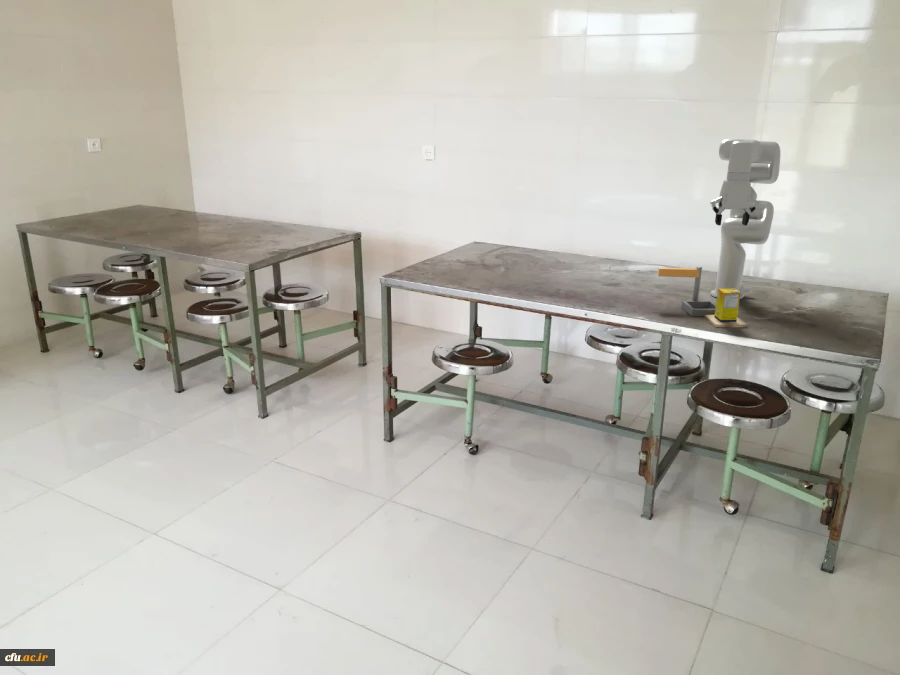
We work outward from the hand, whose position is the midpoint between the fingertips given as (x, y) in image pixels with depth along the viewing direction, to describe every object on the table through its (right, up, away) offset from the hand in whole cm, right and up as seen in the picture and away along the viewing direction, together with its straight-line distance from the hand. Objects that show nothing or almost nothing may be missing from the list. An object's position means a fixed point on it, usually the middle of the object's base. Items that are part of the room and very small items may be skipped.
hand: (731, 224), depth 247 cm
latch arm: (-15, -28, +16) cm, 36 cm away
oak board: (-4, -36, -4) cm, 36 cm away
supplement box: (-4, -35, -4) cm, 35 cm away
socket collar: (-8, -31, +8) cm, 33 cm away
